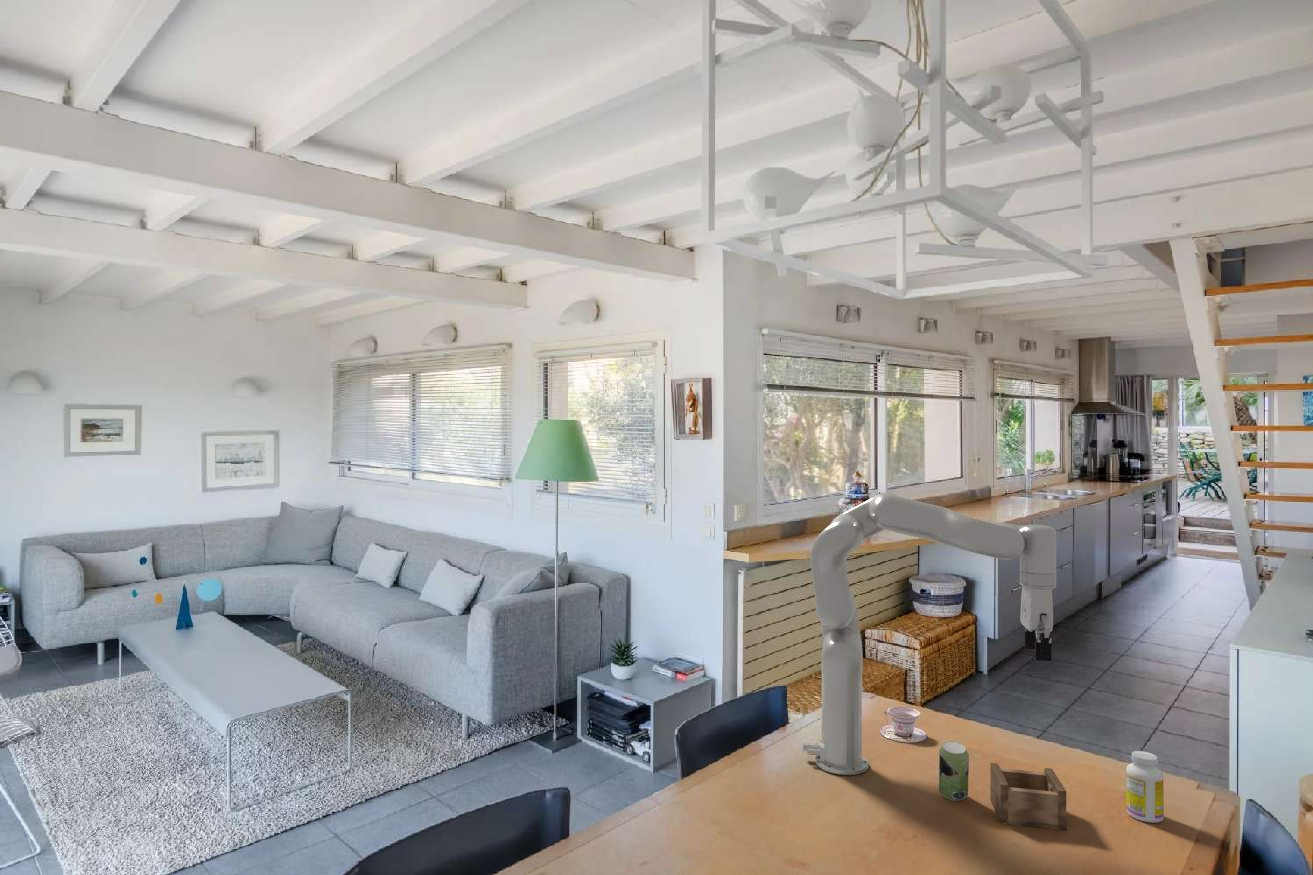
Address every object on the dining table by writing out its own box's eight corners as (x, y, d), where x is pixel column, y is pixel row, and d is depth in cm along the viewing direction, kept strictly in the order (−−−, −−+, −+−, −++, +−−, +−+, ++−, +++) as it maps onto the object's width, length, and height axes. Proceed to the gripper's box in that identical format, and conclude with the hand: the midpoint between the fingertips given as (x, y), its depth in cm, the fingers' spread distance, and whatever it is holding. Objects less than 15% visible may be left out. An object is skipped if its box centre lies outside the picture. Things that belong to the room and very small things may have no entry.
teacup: (928, 730, 210) (928, 707, 210) (924, 746, 199) (924, 722, 199) (883, 723, 215) (883, 701, 215) (876, 739, 204) (876, 715, 204)
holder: (1000, 823, 159) (1000, 784, 159) (990, 798, 170) (990, 762, 170) (1066, 830, 157) (1066, 790, 157) (1051, 805, 167) (1051, 768, 167)
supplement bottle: (1158, 811, 165) (1158, 751, 165) (1167, 826, 158) (1168, 763, 158) (1122, 806, 167) (1122, 747, 167) (1130, 820, 161) (1130, 759, 161)
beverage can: (963, 791, 174) (963, 737, 174) (973, 806, 167) (973, 751, 167) (934, 789, 174) (934, 736, 174) (943, 805, 167) (943, 749, 167)
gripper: (1011, 572, 186) (1011, 643, 186) (1029, 585, 169) (1029, 664, 169) (1045, 573, 184) (1045, 645, 184) (1066, 587, 167) (1066, 666, 167)
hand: (1037, 654), depth 177 cm, fingers open, 9 cm apart
